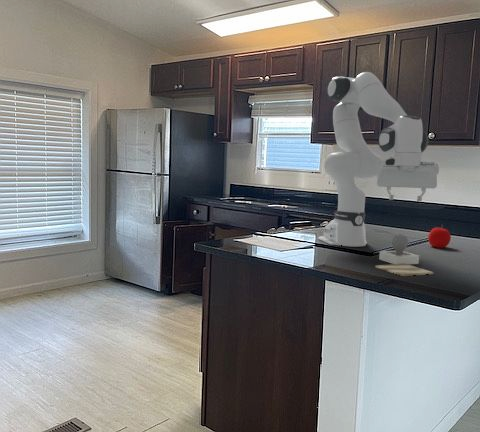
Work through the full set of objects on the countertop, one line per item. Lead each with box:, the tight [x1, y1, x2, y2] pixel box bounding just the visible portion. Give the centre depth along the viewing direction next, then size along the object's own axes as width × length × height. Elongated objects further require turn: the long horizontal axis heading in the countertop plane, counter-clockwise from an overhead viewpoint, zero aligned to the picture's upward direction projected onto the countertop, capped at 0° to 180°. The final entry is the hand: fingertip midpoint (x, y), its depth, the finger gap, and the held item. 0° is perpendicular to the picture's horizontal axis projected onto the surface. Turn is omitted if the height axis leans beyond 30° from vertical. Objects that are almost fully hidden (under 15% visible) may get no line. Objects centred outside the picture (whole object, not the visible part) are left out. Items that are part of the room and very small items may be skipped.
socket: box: [378, 250, 420, 265], centre depth 173 cm, size 10×10×3 cm
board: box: [374, 263, 435, 277], centre depth 159 cm, size 13×13×1 cm
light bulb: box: [391, 233, 409, 256], centre depth 173 cm, size 5×6×10 cm
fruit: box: [427, 224, 452, 249], centre depth 207 cm, size 9×9×10 cm
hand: (405, 200), depth 171 cm, fingers open, 8 cm apart
